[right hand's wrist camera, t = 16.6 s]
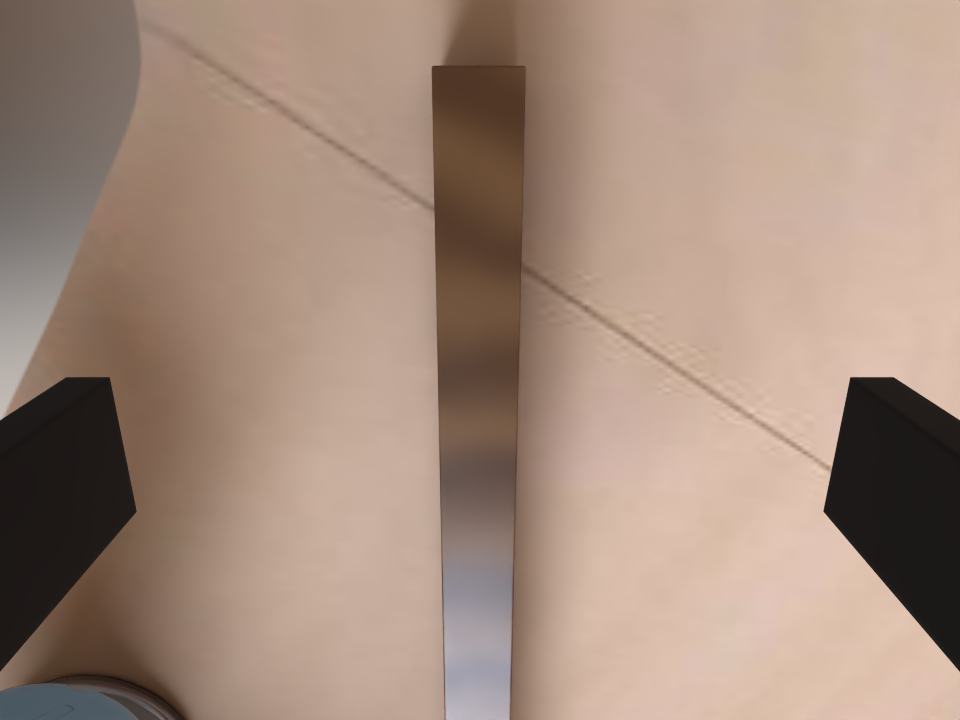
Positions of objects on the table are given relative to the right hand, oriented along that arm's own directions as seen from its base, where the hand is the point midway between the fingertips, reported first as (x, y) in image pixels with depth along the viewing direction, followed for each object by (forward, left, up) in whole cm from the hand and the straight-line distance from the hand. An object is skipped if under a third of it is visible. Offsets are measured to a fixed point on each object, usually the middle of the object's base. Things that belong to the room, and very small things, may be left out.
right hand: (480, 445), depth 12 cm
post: (+20, +9, -31) cm, 38 cm away
